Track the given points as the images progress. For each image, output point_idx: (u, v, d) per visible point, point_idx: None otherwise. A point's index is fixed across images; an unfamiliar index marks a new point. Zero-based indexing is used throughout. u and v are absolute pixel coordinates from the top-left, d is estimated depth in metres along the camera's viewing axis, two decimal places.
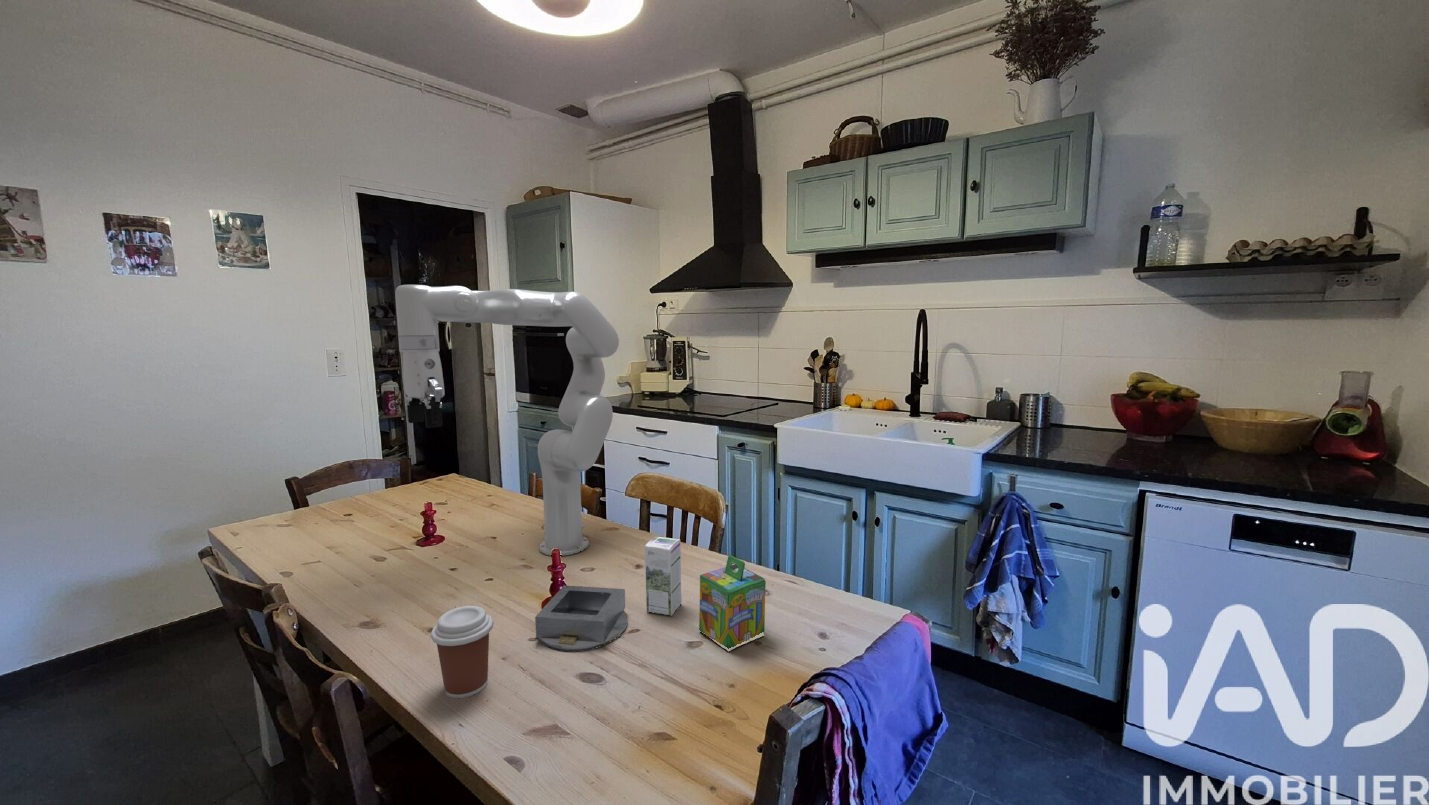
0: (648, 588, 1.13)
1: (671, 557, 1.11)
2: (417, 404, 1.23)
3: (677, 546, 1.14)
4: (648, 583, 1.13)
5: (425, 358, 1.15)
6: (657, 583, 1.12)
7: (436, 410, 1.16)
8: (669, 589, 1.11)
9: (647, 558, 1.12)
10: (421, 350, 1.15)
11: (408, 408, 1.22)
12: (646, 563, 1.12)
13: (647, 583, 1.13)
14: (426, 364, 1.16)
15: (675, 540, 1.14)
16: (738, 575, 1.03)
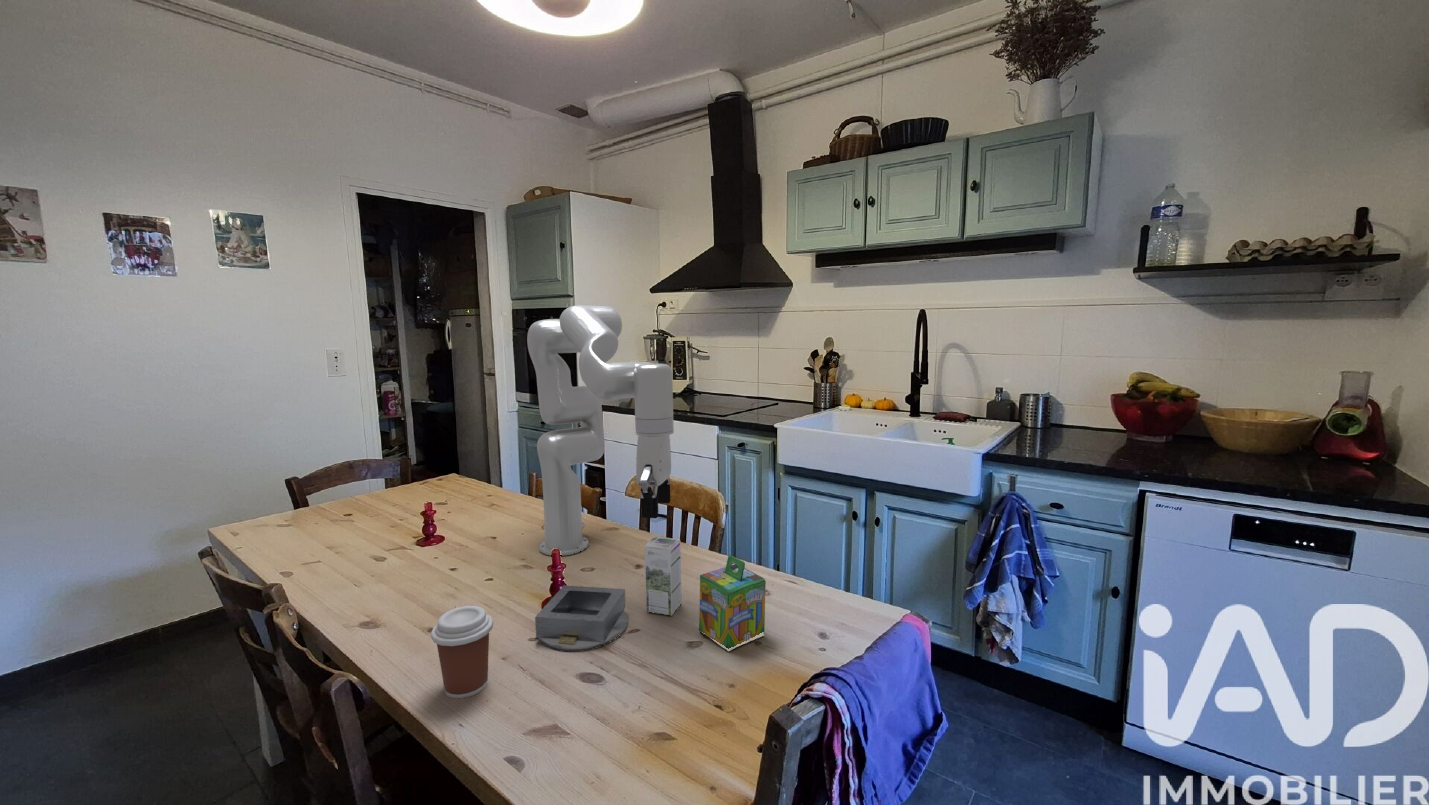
0: (648, 588, 1.13)
1: (670, 557, 1.11)
2: None
3: (677, 546, 1.14)
4: (648, 583, 1.13)
5: None
6: (657, 583, 1.12)
7: None
8: (669, 589, 1.11)
9: (647, 558, 1.12)
10: None
11: (657, 501, 1.08)
12: (646, 563, 1.12)
13: (647, 583, 1.13)
14: None
15: (675, 540, 1.14)
16: (738, 575, 1.03)
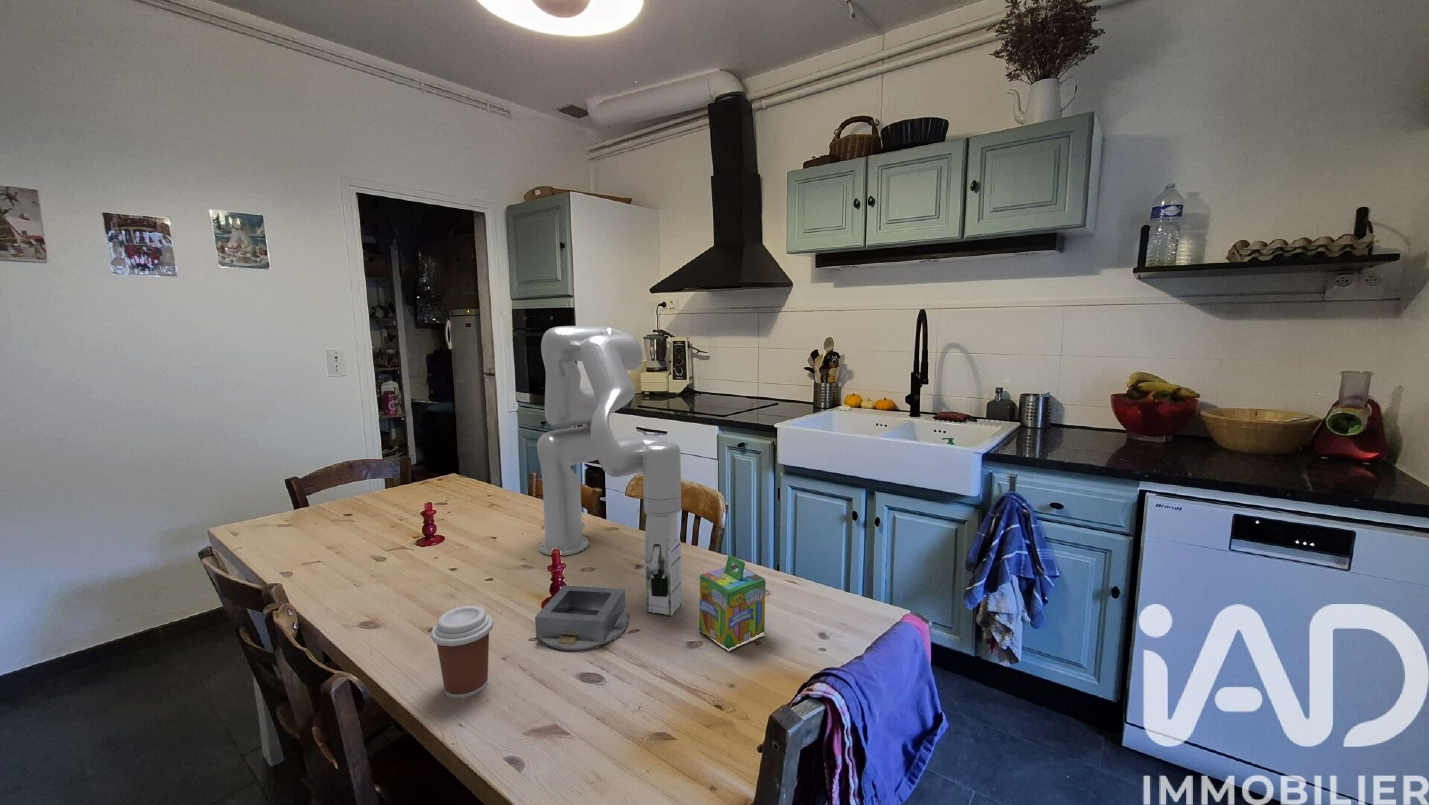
0: (648, 588, 1.13)
1: (671, 557, 1.11)
2: None
3: (677, 546, 1.14)
4: (648, 583, 1.13)
5: None
6: None
7: None
8: (669, 588, 1.11)
9: None
10: None
11: (667, 580, 1.11)
12: (647, 563, 1.12)
13: (647, 583, 1.13)
14: None
15: (675, 540, 1.14)
16: (738, 575, 1.03)
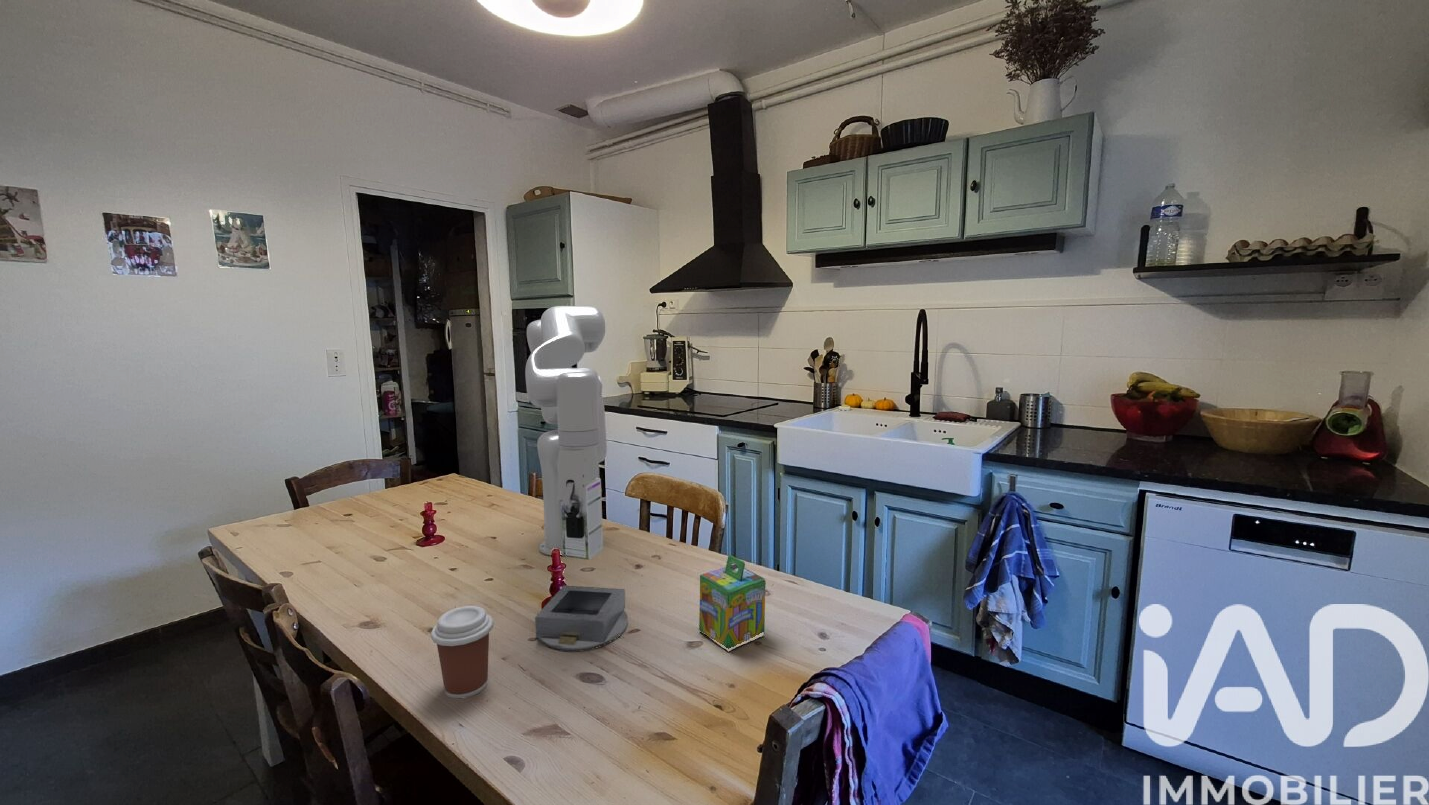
0: (564, 530, 1.05)
1: (587, 495, 1.02)
2: None
3: (596, 485, 1.06)
4: (564, 525, 1.05)
5: None
6: None
7: None
8: (585, 529, 1.03)
9: None
10: None
11: (583, 520, 1.03)
12: None
13: (563, 524, 1.05)
14: None
15: None
16: (738, 575, 1.03)
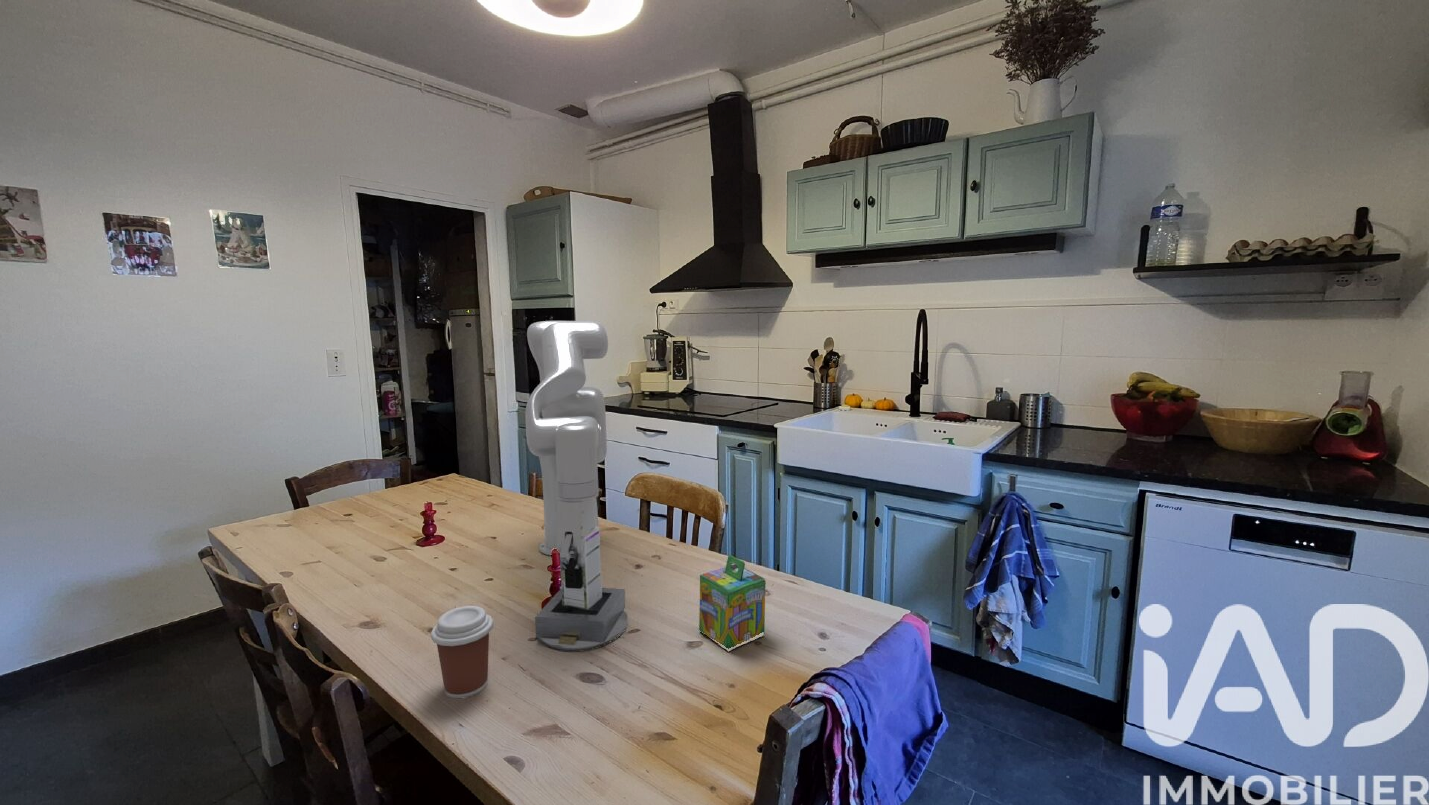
0: (563, 579, 1.05)
1: (585, 546, 1.03)
2: None
3: (595, 534, 1.06)
4: (563, 574, 1.05)
5: None
6: None
7: None
8: (584, 580, 1.04)
9: None
10: None
11: (581, 571, 1.04)
12: None
13: (562, 574, 1.05)
14: None
15: (593, 528, 1.07)
16: (738, 575, 1.03)
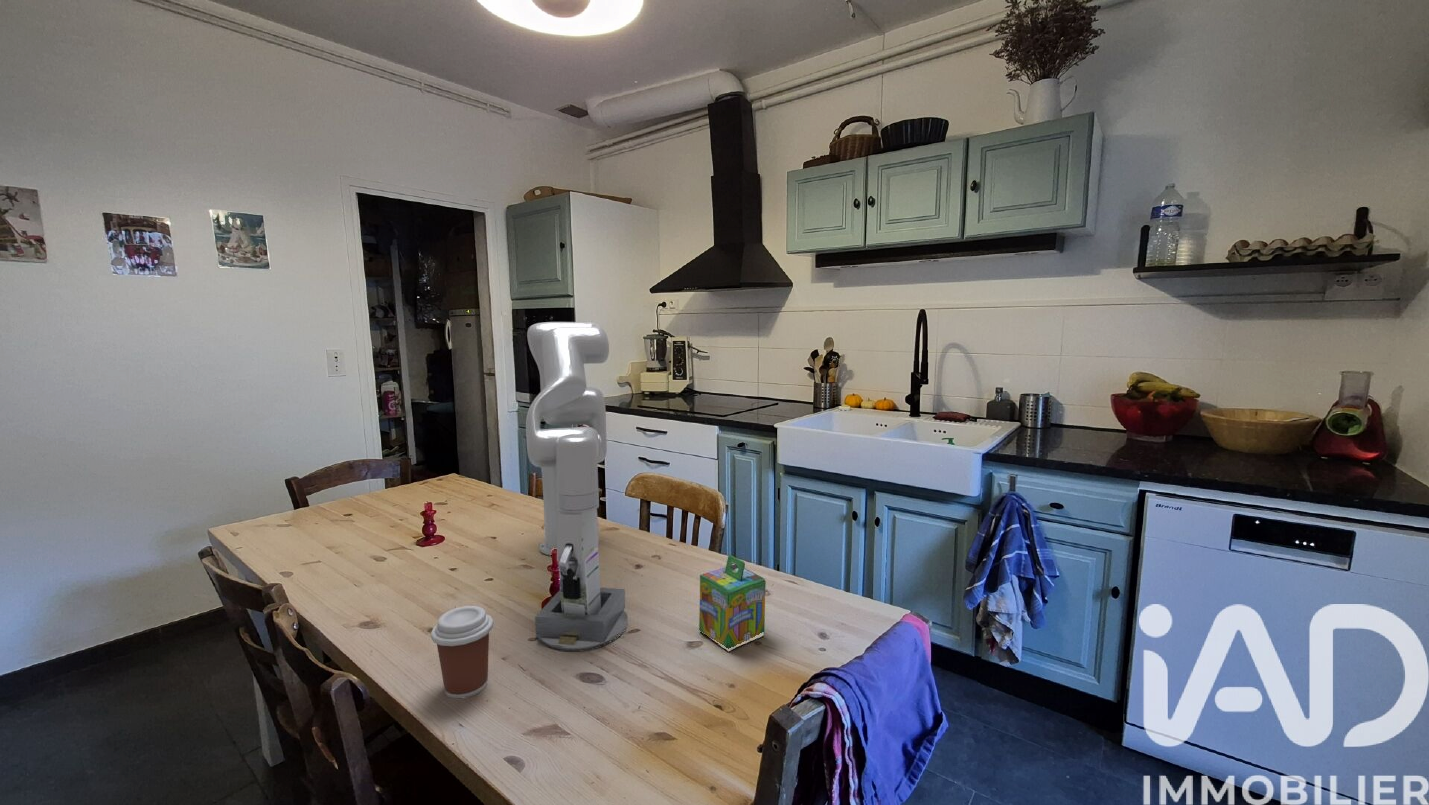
0: (563, 601, 1.06)
1: (586, 567, 1.04)
2: None
3: (594, 555, 1.07)
4: None
5: None
6: None
7: None
8: (585, 601, 1.04)
9: None
10: None
11: (579, 581, 1.03)
12: None
13: (562, 596, 1.06)
14: None
15: (592, 549, 1.07)
16: (738, 575, 1.03)
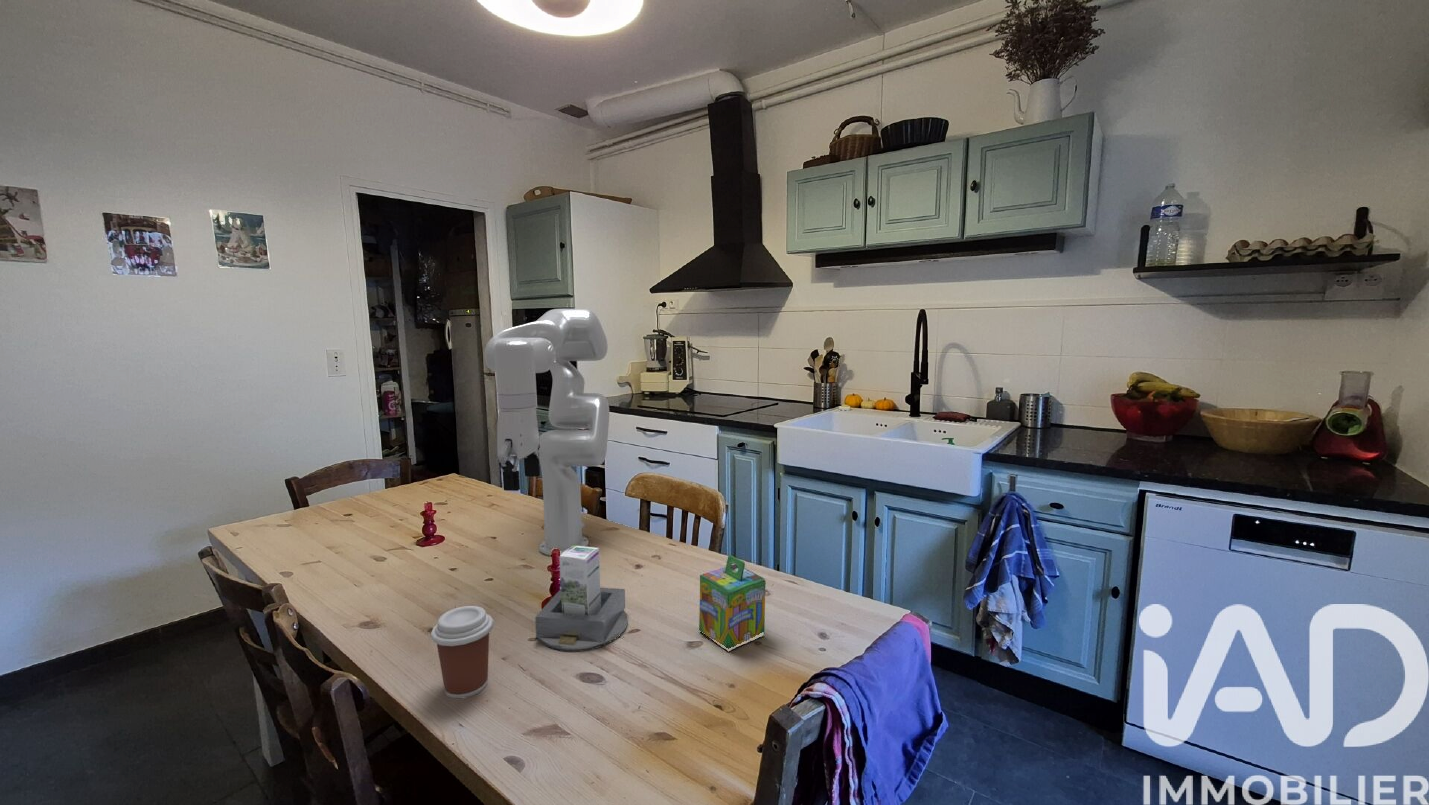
0: (564, 601, 1.06)
1: (587, 567, 1.04)
2: None
3: (595, 555, 1.07)
4: (563, 596, 1.06)
5: None
6: (573, 596, 1.05)
7: None
8: (585, 601, 1.04)
9: (562, 569, 1.05)
10: None
11: (518, 474, 1.11)
12: (561, 575, 1.05)
13: (562, 596, 1.06)
14: None
15: (593, 549, 1.07)
16: (738, 575, 1.03)
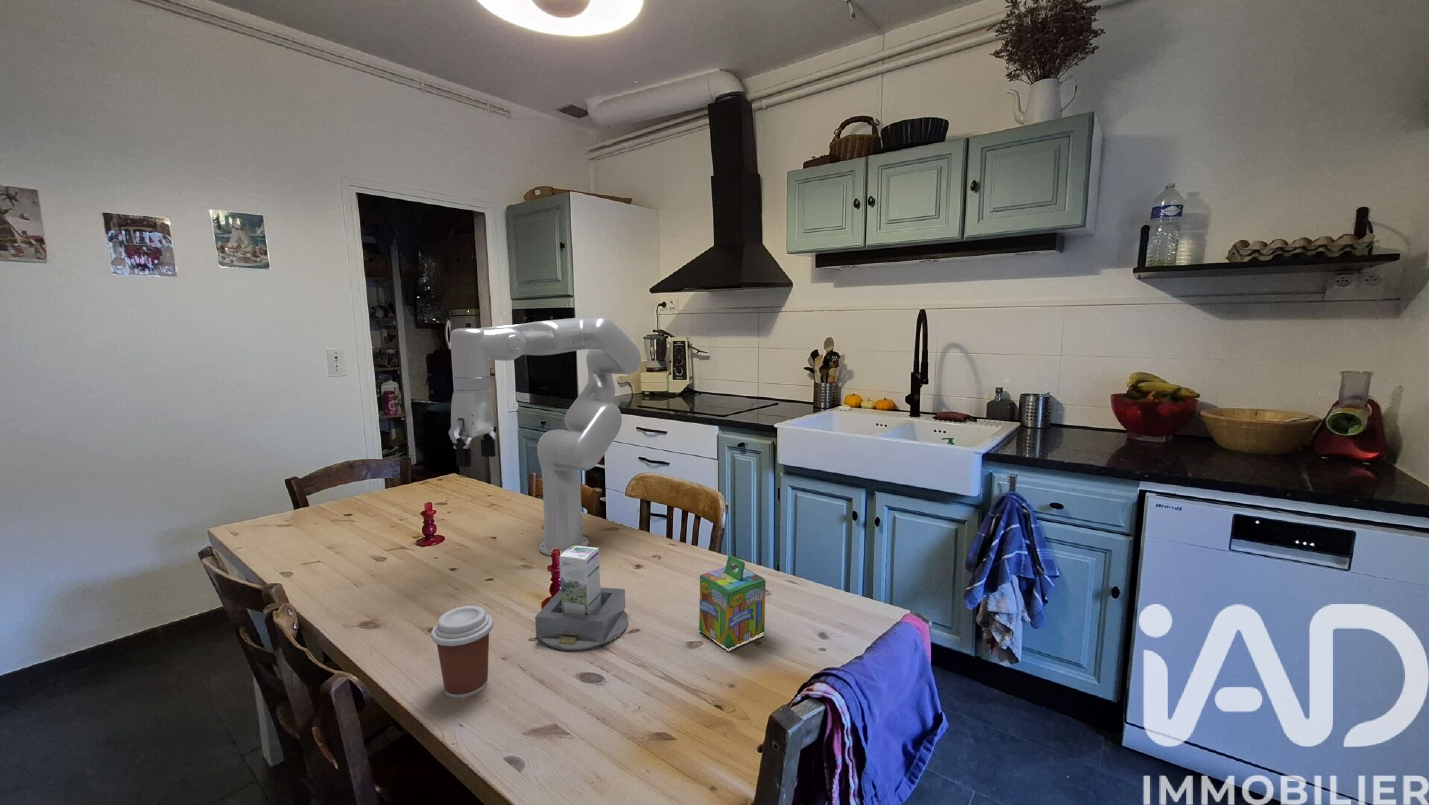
0: (564, 601, 1.06)
1: (587, 567, 1.04)
2: None
3: (595, 555, 1.07)
4: (563, 596, 1.06)
5: None
6: (573, 596, 1.05)
7: None
8: (585, 601, 1.04)
9: (562, 569, 1.05)
10: None
11: (470, 451, 1.20)
12: (561, 575, 1.05)
13: (562, 596, 1.06)
14: None
15: (593, 549, 1.07)
16: (738, 575, 1.03)
